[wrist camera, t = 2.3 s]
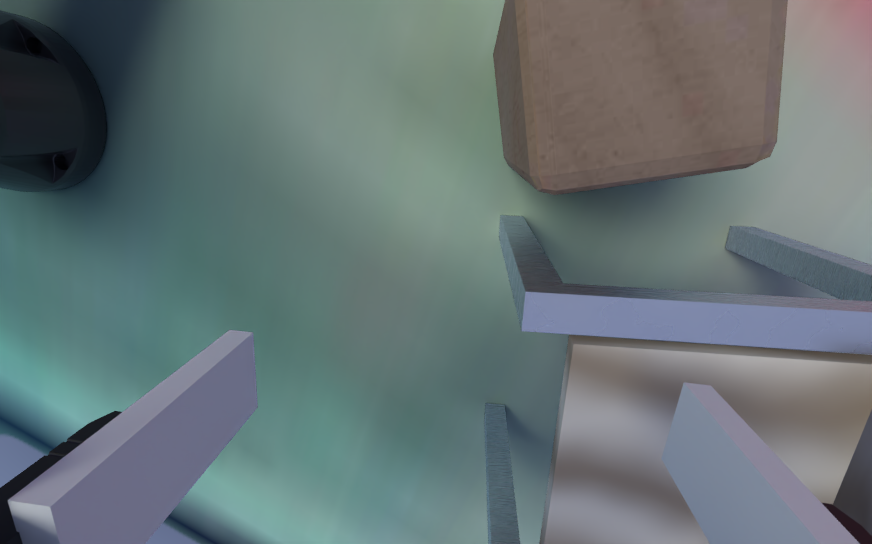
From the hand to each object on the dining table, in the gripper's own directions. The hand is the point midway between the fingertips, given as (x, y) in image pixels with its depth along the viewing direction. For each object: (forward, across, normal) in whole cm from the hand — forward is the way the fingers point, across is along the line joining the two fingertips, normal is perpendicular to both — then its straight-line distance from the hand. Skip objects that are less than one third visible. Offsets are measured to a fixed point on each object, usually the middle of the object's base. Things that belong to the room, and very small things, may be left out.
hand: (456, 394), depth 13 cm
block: (+28, +6, +11) cm, 30 cm away
